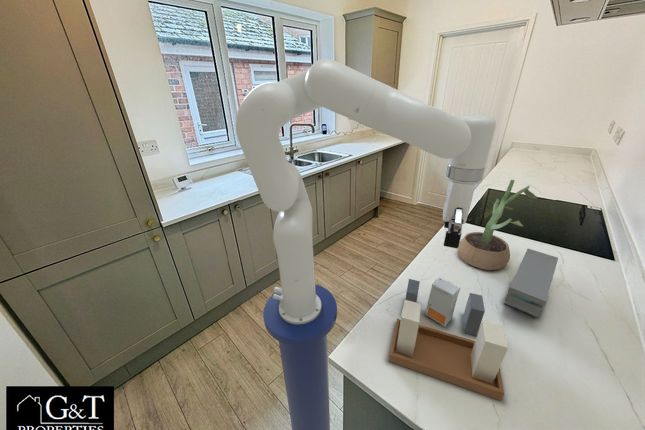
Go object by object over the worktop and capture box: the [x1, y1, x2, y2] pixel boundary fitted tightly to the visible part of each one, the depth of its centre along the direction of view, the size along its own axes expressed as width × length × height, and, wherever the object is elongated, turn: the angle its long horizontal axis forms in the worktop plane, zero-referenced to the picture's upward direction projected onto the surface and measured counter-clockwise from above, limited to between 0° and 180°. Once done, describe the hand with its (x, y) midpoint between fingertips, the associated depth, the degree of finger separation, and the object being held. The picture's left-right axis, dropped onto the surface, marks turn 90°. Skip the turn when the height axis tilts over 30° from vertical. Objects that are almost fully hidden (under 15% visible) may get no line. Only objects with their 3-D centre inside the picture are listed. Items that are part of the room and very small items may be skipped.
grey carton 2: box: [462, 292, 486, 337], centre depth 70 cm, size 3×6×9 cm, turn 157°
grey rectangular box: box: [504, 248, 559, 318], centre depth 78 cm, size 25×8×11 cm, turn 136°
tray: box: [388, 318, 505, 401], centre depth 64 cm, size 24×12×3 cm, turn 67°
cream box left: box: [396, 299, 422, 357], centre depth 64 cm, size 4×6×12 cm, turn 157°
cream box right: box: [471, 319, 509, 384], centre depth 58 cm, size 4×6×12 cm, turn 157°
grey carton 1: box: [404, 278, 421, 303], centre depth 76 cm, size 3×6×9 cm, turn 157°
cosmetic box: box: [425, 277, 461, 327], centre depth 73 cm, size 6×4×12 cm
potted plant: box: [457, 179, 538, 271], centre depth 94 cm, size 22×18×30 cm
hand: (450, 236), depth 67 cm, fingers open, 9 cm apart
